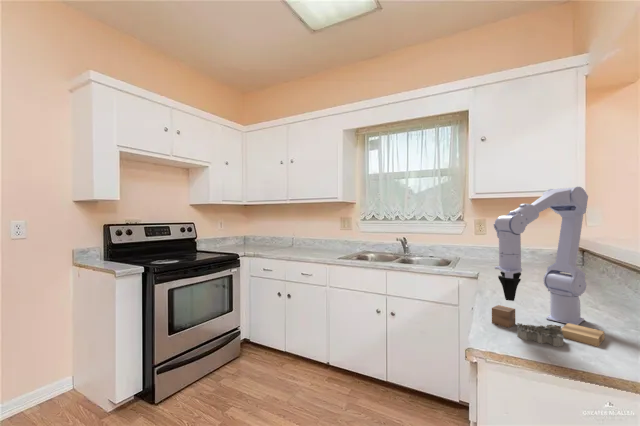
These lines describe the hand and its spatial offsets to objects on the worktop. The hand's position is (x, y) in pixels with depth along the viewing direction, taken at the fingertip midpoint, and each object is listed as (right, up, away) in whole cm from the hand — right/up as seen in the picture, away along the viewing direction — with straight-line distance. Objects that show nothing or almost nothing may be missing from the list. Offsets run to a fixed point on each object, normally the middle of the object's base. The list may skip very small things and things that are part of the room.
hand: (510, 297), depth 89 cm
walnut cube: (0, -10, +4) cm, 10 cm away
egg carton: (+3, -10, -8) cm, 13 cm away
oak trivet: (+16, -10, -7) cm, 20 cm away
